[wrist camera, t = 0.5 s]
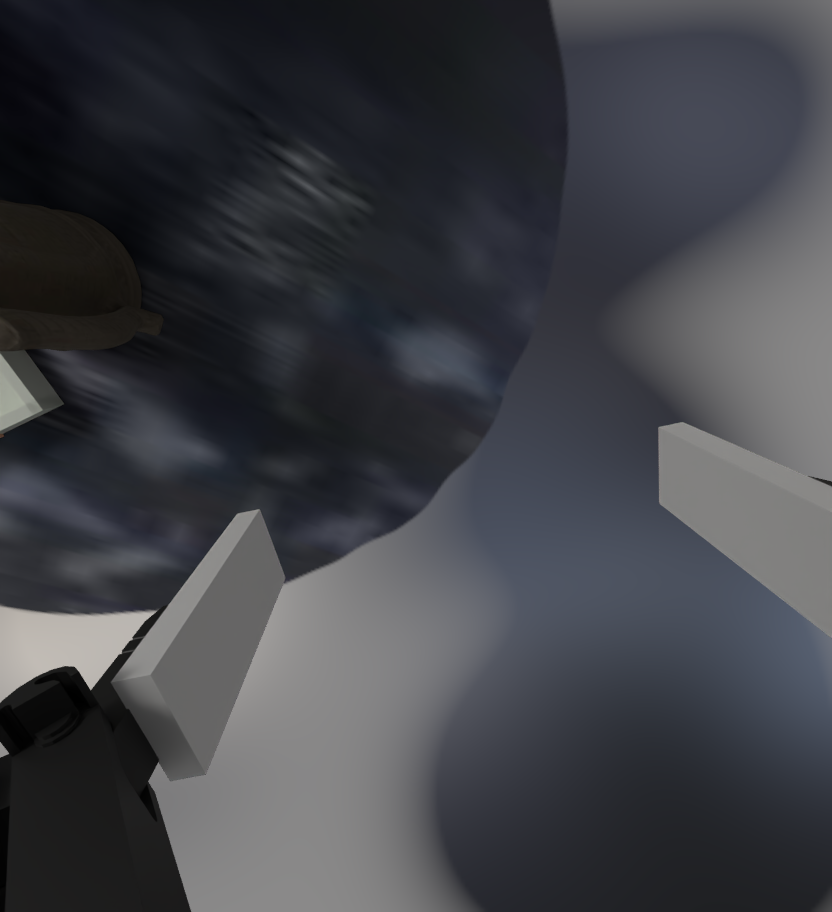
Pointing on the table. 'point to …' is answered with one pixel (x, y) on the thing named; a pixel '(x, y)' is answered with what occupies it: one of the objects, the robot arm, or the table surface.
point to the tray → (23, 391)
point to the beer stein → (66, 283)
